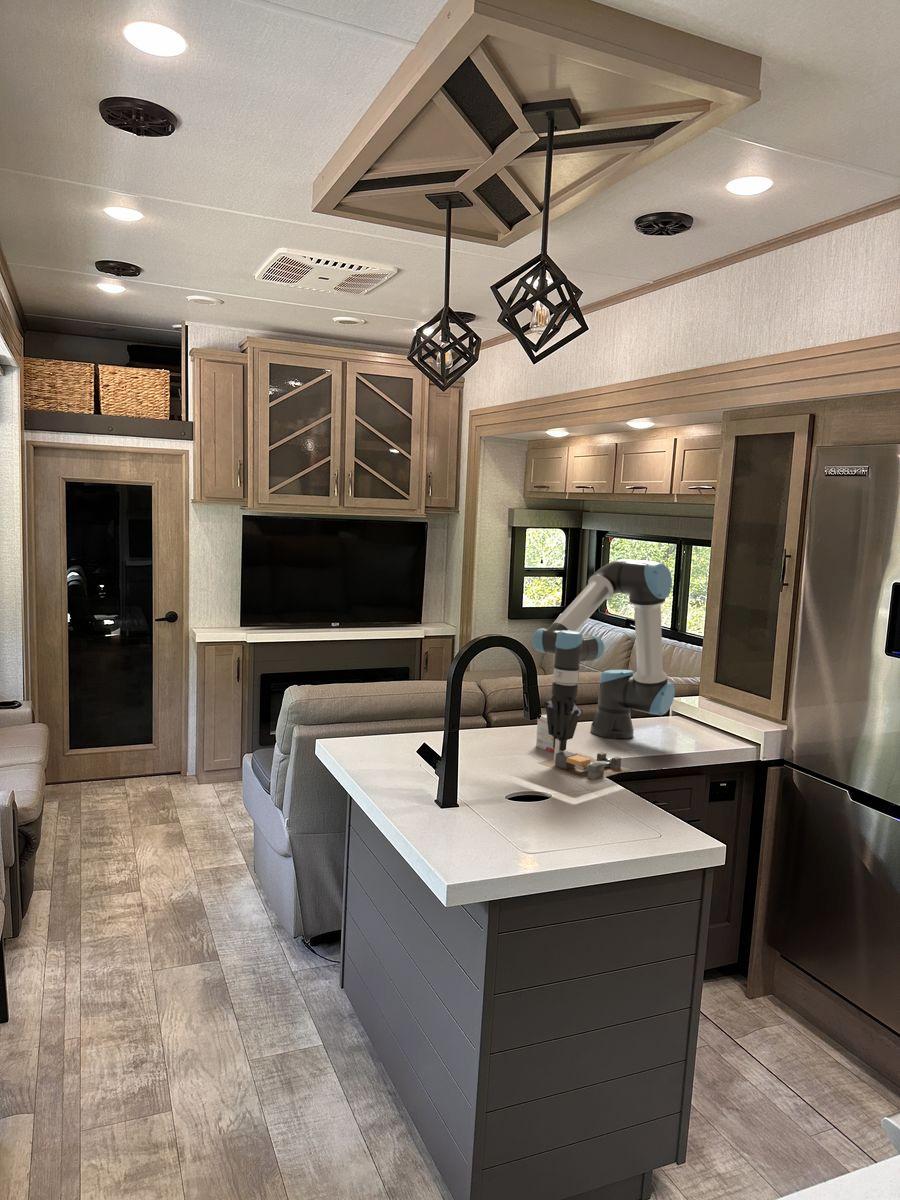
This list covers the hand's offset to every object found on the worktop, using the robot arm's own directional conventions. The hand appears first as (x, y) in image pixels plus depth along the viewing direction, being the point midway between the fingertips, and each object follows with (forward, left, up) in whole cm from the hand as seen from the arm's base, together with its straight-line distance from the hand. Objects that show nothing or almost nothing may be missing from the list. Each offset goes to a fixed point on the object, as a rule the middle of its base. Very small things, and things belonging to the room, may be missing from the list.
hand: (558, 760), depth 249 cm
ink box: (-12, -13, -3) cm, 18 cm away
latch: (0, +5, -1) cm, 5 cm away
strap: (-6, +9, -1) cm, 11 cm away
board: (-6, +5, -3) cm, 8 cm away
